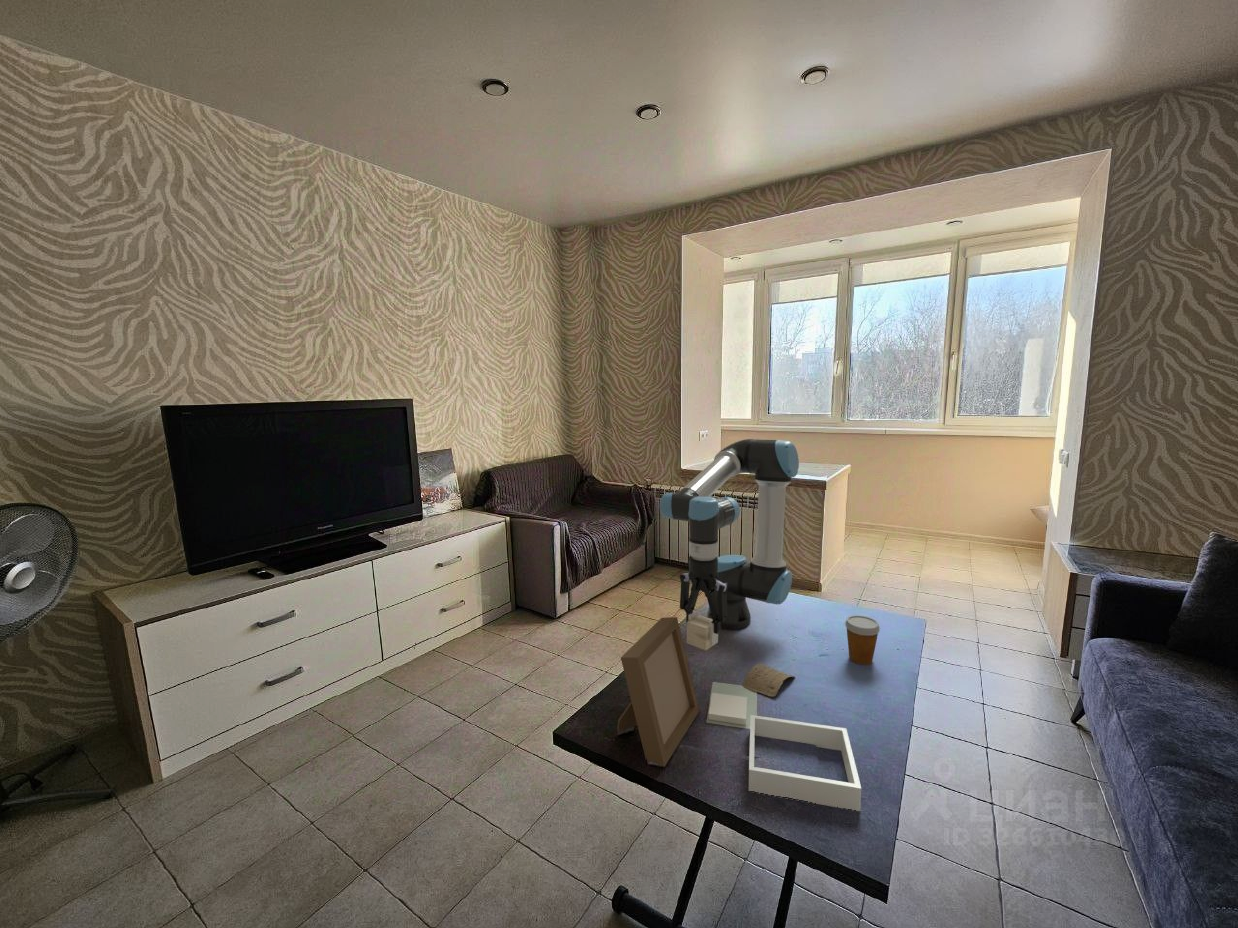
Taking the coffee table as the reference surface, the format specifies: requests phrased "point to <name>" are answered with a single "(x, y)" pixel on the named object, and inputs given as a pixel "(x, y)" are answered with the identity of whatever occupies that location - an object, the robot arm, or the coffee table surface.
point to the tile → (728, 708)
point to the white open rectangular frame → (801, 784)
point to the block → (699, 632)
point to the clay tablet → (764, 680)
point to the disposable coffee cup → (861, 638)
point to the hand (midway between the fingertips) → (702, 639)
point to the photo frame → (659, 690)
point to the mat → (736, 691)
